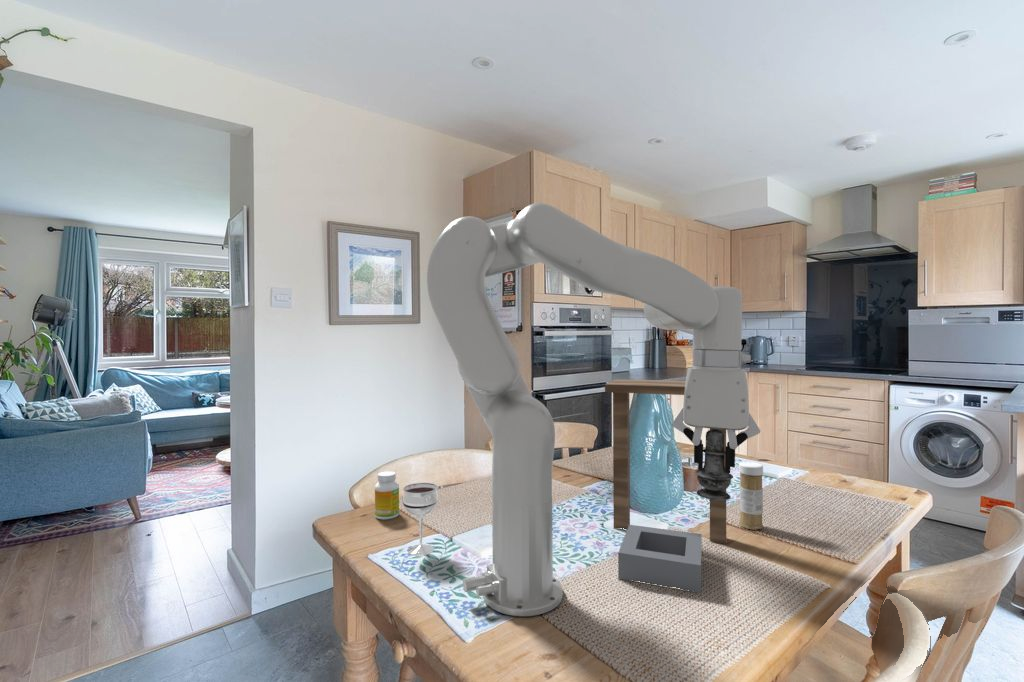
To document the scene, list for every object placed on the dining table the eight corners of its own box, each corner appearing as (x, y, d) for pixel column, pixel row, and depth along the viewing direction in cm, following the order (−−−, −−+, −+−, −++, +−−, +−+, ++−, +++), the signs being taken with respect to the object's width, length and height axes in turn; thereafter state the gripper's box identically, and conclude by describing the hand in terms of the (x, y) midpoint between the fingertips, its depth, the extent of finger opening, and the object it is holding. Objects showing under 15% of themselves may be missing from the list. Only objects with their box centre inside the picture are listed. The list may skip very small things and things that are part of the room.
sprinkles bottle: (752, 521, 107) (752, 460, 107) (768, 529, 103) (768, 465, 103) (734, 523, 106) (734, 461, 106) (749, 531, 102) (749, 467, 102)
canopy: (728, 563, 88) (728, 388, 87) (605, 545, 96) (604, 384, 95) (725, 537, 99) (725, 382, 98) (615, 523, 107) (615, 379, 106)
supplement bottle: (395, 520, 110) (395, 476, 109) (372, 520, 110) (371, 476, 110) (401, 511, 115) (401, 470, 115) (378, 511, 115) (378, 470, 115)
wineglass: (444, 552, 93) (443, 489, 93) (409, 561, 90) (409, 495, 89) (431, 539, 99) (430, 480, 99) (398, 547, 95) (397, 486, 95)
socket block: (701, 593, 78) (701, 565, 78) (618, 579, 82) (618, 552, 82) (701, 558, 90) (701, 534, 90) (629, 547, 95) (629, 524, 94)
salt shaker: (736, 502, 79) (738, 428, 79) (697, 499, 80) (699, 426, 80) (728, 491, 85) (730, 422, 85) (692, 488, 86) (694, 420, 86)
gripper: (769, 361, 83) (766, 470, 83) (666, 358, 89) (664, 458, 89) (774, 363, 76) (771, 481, 76) (662, 359, 82) (660, 468, 82)
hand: (713, 468), depth 82 cm, fingers closed on salt shaker, 3 cm apart
